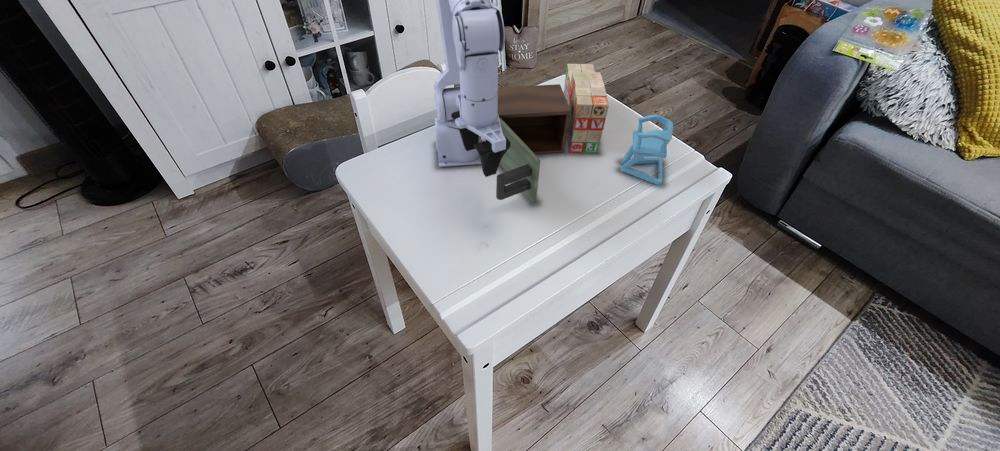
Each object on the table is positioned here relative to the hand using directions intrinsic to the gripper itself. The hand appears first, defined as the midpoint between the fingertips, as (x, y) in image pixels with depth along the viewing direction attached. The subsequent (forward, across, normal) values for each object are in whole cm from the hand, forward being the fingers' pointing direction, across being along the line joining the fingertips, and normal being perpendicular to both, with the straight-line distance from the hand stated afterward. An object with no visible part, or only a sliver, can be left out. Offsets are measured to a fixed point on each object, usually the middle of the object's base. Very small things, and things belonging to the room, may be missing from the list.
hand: (480, 161), depth 79 cm
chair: (+11, +6, +34) cm, 36 cm away
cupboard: (+10, -13, +18) cm, 24 cm away
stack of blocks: (+10, -13, +31) cm, 36 cm away
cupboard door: (+10, -3, +6) cm, 12 cm away
